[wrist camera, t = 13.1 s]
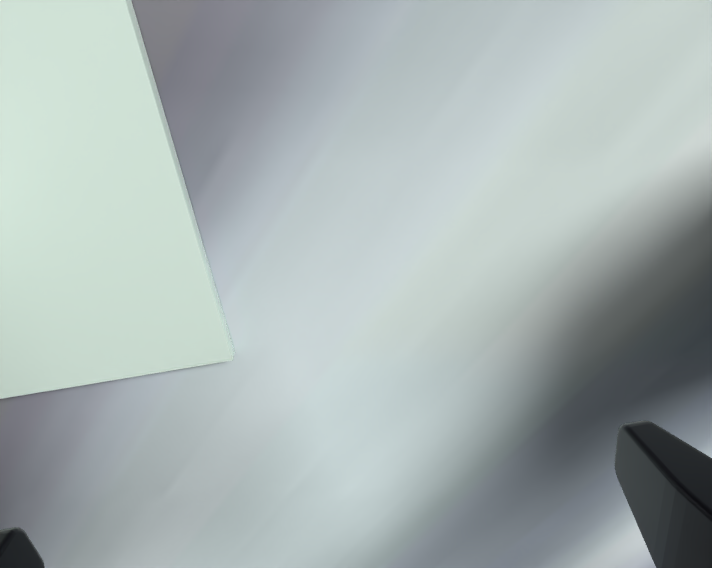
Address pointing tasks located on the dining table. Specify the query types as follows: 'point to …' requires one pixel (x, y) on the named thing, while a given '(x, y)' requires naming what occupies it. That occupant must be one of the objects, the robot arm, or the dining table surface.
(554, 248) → the dining table surface
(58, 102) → the pad
